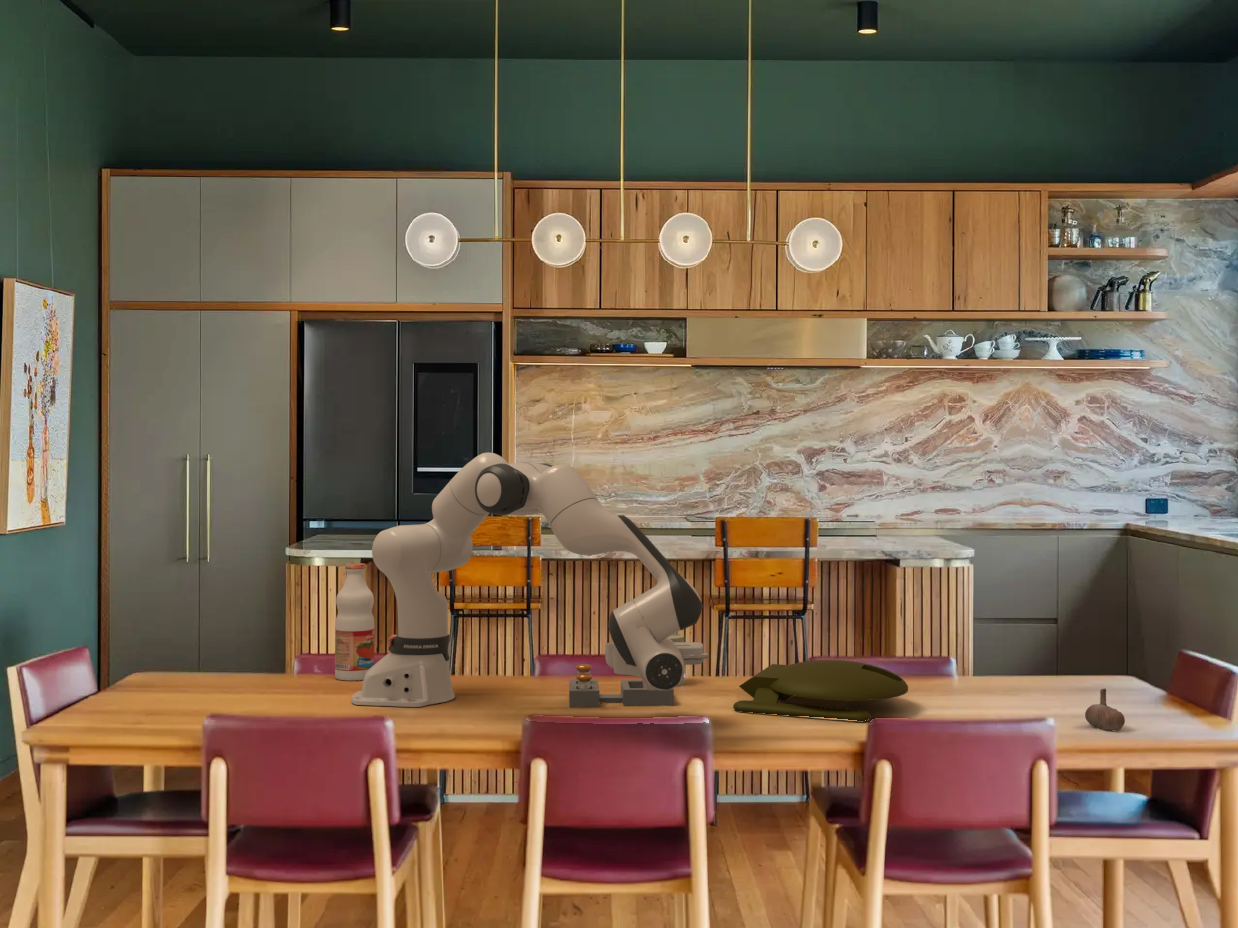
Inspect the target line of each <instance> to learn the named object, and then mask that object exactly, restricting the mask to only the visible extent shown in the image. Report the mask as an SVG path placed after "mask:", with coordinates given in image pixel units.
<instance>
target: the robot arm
mask: <svg viewBox="0 0 1238 928" xmlns="http://www.w3.org/2000/svg"><path fill="white" fill-rule="evenodd" d="M431 513H432V517H433V518H432V520H429V522H426V523H422V524H405V525H404V524H403V525H402V524H401V525H397V526H393V527H390V528H387V529H383V530H381V531H380V532H379V533H378V534H377V535H376V536H375V538H374V540H373V543H372V547H371V556H372V560H373V562H374V564H375V566H376V568H377V569H378V570H379V571H381V573H383V574H384V575H385V576H386V578H387V579H388V581H389V583H390V584H391V586H392V589H393V591H394V595H395V600H396V605H397V634H392V635H391V636H390V637H389V639H388V651H389V652H388V653H387V654H386V655H384V656H383V657H381V658H380V659H379V660H378V661H377V662H376V663H374V665H373V666H372V667H371V668H370V669H369V670H368V671H367V672H366V674H365V676H364V680H362V686H361V690H358V691H356V692H354V693H353V694H352V696H351V704H353V705H355V706H357V705H358V706H376V707H378V706H379V707H380V706H381V707H383V706H384V707H403V708H404V707H406V708H407V707H410V708H411V707H412V708H420V707H424V706H429V705H434V704H439V703H445V702H449V701H452V700H454V699H455V698H456V695H455V692H454V689H453V683H452V679H451V678H452V677H451V672H450V662H449V660H450V658H451V638H450V637H451V636H450V633H449V632H448V631H449V602H448V599H447V598H446V596H445V595H444V594H443V593H441V592H440V591H438V590H437V589H436V587H435V585H434V581H433V579H432V574H433V573H442V572H443V573H444V572H450V571H452V570H455V569H458V568H460V567H462V566H465V565H466V564H467V563H468V562H469V561H470V559H471V558H472V554H473V550H474V549H473V548H474V544H473V539H472V535H473V533H474V532H475V530H477V528H478V527H479V526H480V525H481V524H482V523H483V521H484V520H486V518H487V517H488V516H489V514H491V515H496V516H499V517H500V516H514V517H523V516H524V517H525V516H530V515H531V516H533V515H538V514H542V515H543V517H544V518H545V520H546V522H547V523H548V525H549V528H550V529H551V531H552V533H553V534H554V536H555V537H556V539H557V540H558V542H559V543H560V544H561V546H562V548H564V549H565V550H567V552H568V551H569V552H570V553H572V554H576V555H579V556H596V555H601V554H602V555H603V554H607V553H612V552H613V553H614V552H628V553H630V554H632V555H634V556H635V557H636V558H638V560H639V561H640V562H641V563H642V565H643V566H644V567H645V568H646V569H647V570H648V571H649V572H650V573H651V575H652V576H653V577H654V578H655V579H656V581H657V583H656V584H655V586H653V587H651V588H650V589H649V590H646V591H645V592H643V593H642V594H640V595H638V596H636V597H635V598H633V599H629V600H628V601H627V602H625V603H623V604H622V605H620V606H618V607H616V608H615V609H614V610H612V611H611V612H610V615H609V619H608V626H607V628H608V631H609V634H610V636H611V640H612V642H607V643H605V648H604V649H605V650H604V654H605V657H604V658H605V659H604V660H605V662H606V665H608V667H609V668H612V669H613V673H614V674H615V675H621V676H628V677H636V678H640V679H641V680H642V679H643V680H644V682H645V683H646V684H647V685H648V686H650V687H651V688H653V689H655V690H658V691H667V690H671V689H674V688H676V687H678V686H677V685H678V684H679V683H680V682H681V680H682V679H683V677H684V678H685V673H686V665H688V666H689V665H690V666H691V665H701V664H703V662H704V659H707V660H708V658H709V654H708V653H707V652H704V644H703V643H702V642H698V641H696V642H695V641H694V642H693V641H690V642H689V641H688V642H685V641H684V642H673V641H672V640H670V639H669V638H668V637H669V636H671V635H673V634H675V633H676V634H677V633H678V632H680V631H683V630H686V629H688V628H689V627H692V626H694V625H696V624H697V623H698V621H699V619H700V616H701V614H702V611H703V607H704V604H703V603H702V599H701V596H700V594H699V592H698V591H697V590H696V588H695V586H694V585H693V584H691V583H690V582H689V581H688V579H686V578H685V577H683V576H682V575H681V574H680V573H679V572H678V571H677V569H675V567H674V566H673V565H672V564H671V563H670V562H669V561H668V559H667V558H666V557H665V556H664V555H663V553H661V552H660V550H659V549H658V548H657V547H656V546H655V544H654V543H653V542H652V541H651V540H650V539H649V538H648V536H647V535H646V534H645V533H644V532H643V531H642V530H641V529H640V528H639V527H638V526H637V525H636V523H635V522H633V521H632V520H631V518H628V517H627V516H626V515H624V514H621V515H620V514H618V515H616V514H614V513H612V512H610V511H608V510H607V509H606V508H605V507H604V506H603V505H602V504H601V503H600V501H599V499H598V498H597V496H596V494H595V492H594V491H593V489H592V488H591V487H590V485H589V484H588V483H587V482H586V480H585V479H584V477H582V475H581V474H580V473H579V472H578V471H577V470H576V469H575V468H574V466H571V465H569V464H565V463H563V464H562V463H561V464H554V465H552V464H549V463H536V462H526V461H521V462H513V463H512V462H510V463H509V462H508V461H507V460H506V459H505V458H503V456H501V455H499V454H497V453H494V452H483V453H480V454H478V455H477V456H475V457H474V458H472V460H470V461H469V462H468V463H466V464H465V465H464V466H463V467H462V468H461V469H460V470H459V471H458V472H457V473H455V474H454V476H453V477H452V478H451V479H450V480H449V482H448V483H447V484H446V485H445V486H444V487H443V489H442V490H440V492H439V493H438V494H437V495H436V497H435V498H434V499H433V501H432V505H431Z"/></svg>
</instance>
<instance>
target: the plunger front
mask: <svg viewBox="0 0 1238 928" xmlns="http://www.w3.org/2000/svg"><path fill="white" fill-rule="evenodd" d="M591 679H593V675H592V674H591V673H590V674H578V673H577V674H576V680H578V689H591Z"/></svg>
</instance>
